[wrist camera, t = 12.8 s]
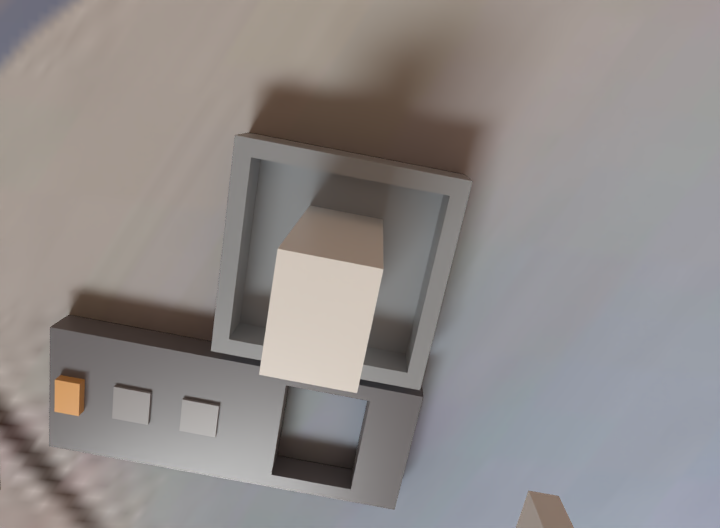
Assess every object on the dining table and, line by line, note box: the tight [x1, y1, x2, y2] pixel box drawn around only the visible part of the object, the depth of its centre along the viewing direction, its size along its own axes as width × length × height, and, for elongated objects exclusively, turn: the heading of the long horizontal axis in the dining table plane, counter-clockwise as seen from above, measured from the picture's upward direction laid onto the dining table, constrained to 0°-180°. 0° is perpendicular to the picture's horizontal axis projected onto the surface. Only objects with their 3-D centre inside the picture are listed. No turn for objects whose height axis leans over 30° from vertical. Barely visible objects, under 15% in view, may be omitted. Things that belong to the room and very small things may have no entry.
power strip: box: [49, 315, 423, 510], centre depth 34 cm, size 24×9×3 cm, turn 79°
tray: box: [211, 133, 473, 390], centre depth 31 cm, size 13×13×3 cm
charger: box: [259, 205, 384, 393], centre depth 27 cm, size 4×6×10 cm
